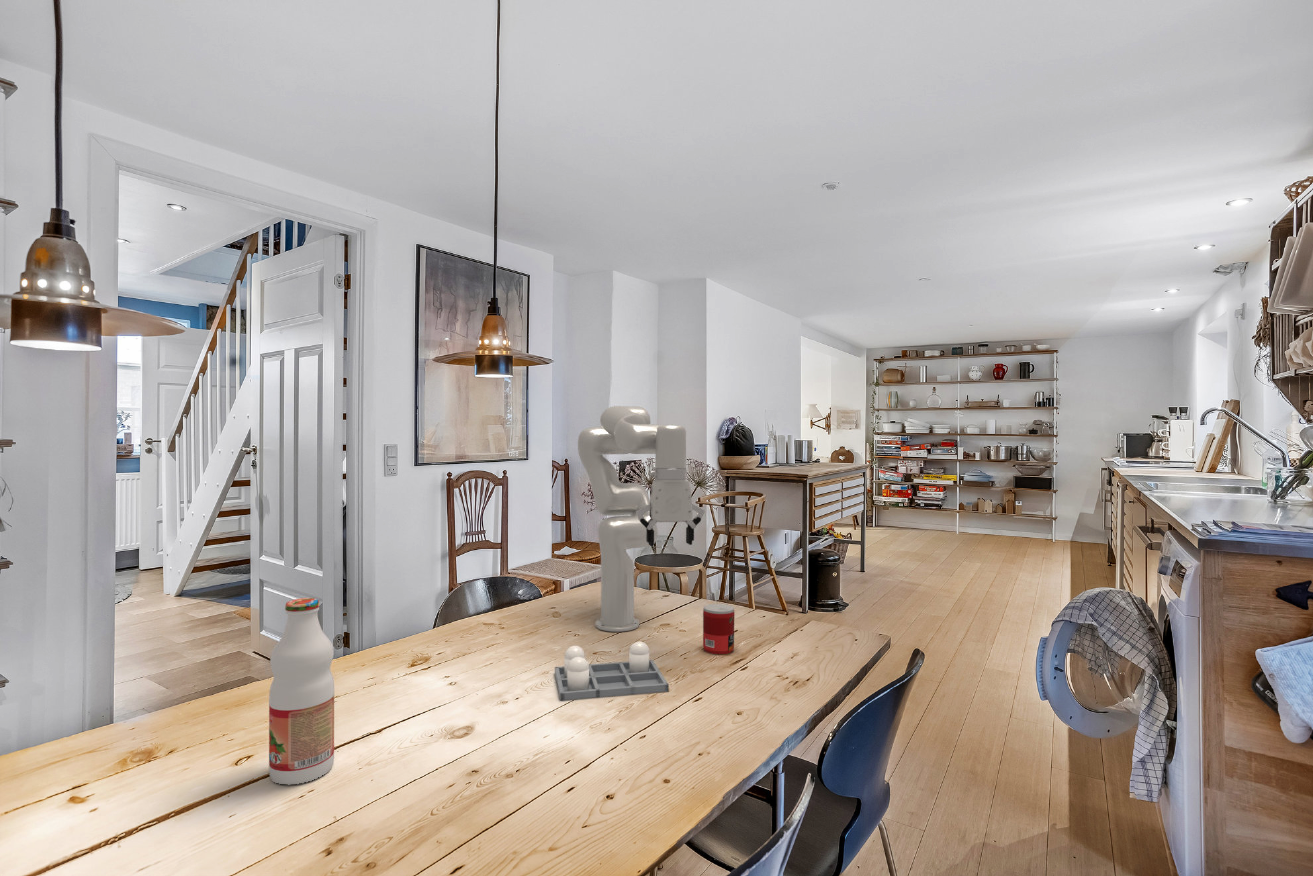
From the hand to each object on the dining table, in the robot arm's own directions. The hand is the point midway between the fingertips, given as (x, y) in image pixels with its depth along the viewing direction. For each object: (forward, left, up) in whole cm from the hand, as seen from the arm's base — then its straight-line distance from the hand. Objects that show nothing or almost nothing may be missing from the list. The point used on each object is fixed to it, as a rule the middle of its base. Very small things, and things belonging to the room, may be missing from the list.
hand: (670, 544), depth 161 cm
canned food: (-4, +14, -28) cm, 32 cm away
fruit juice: (+39, -72, -28) cm, 87 cm away
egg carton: (+13, -17, -28) cm, 35 cm away
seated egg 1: (+9, -24, -28) cm, 38 cm away
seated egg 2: (+17, -24, -28) cm, 41 cm away
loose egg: (+9, -10, -28) cm, 31 cm away
